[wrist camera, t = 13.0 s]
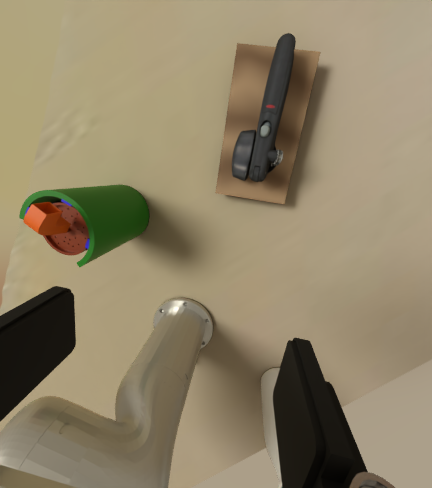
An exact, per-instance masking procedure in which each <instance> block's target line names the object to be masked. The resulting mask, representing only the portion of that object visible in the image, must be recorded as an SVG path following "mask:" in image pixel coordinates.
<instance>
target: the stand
mask: <svg viewBox="0 0 432 488" xmlns="http://www.w3.org/2000/svg"><path fill="white" fill-rule="evenodd" d="M275 49H276V47H267V46H258V45H248V44H238V43H237V50H236V56H235V63H234V70H233V77H232V84H231V91H230V97H229V104H228V111H227V118H226V125H225V132H224V139H223V145H222V152H221V159H220V166H219V173H218V180H217V186H216V193H218V194H224V195H230V196H237V197H243V198H249V199H255V200H261V201H267V202H273V203H279V204H284V203H285V199H286V195H287V191H288V186H289V182H290V178H291V174H292V170H293V165H294V161H295V157H296V153H297V149H298V144H299V140H300V136H301V132H302V128H303V123H304V119H305V115H306V111H307V107H308V102H309V98H310V94H311V90H312V86H313V81H314V77H315V73H316V69H317V65H318V61H319V56H320V52H316V51H306V50H296V49H294V60H293V67H292V73H291V78H290V83H289V88H288V92H287V96H286V100H285V104H284V108H283V112H282V116H281V119H280V123H279V127H278V132H277V136H276V141H275V147H276V150H282V151H283V159H282V161H281V163H280V164H279V165H278V166H276V167H275V168H274V169H273V170H272V171H271V172H270V173H268V174H267V176H266V178H265V180H264V181H262V182H254V181H252V180H251V179H250V178H249V176H248V178H247V179H246V181H243V180H240V179H237V178H235V177H233V176H232V157H233V151H234V147H235V144H236V141H237V139H238V136H239V134H240V132H241V131H246V130H256V133H257V127H258V122H259V117H260V112H261V106H262V101H263V96H264V92H265V87H266V83H267V79H268V75H269V71H270V67H271V63H272V60H273V56H274V53H275Z"/></svg>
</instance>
